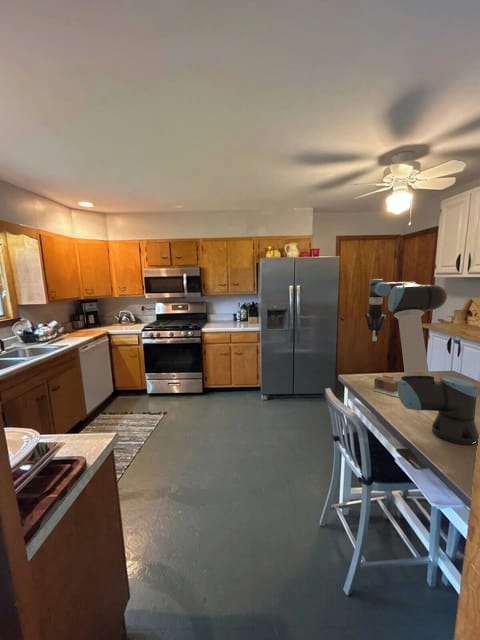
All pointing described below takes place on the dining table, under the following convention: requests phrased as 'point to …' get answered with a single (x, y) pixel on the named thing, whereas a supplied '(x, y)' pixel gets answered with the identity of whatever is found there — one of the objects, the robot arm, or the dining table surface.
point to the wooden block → (385, 384)
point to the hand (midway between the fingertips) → (374, 340)
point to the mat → (387, 392)
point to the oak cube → (388, 376)
